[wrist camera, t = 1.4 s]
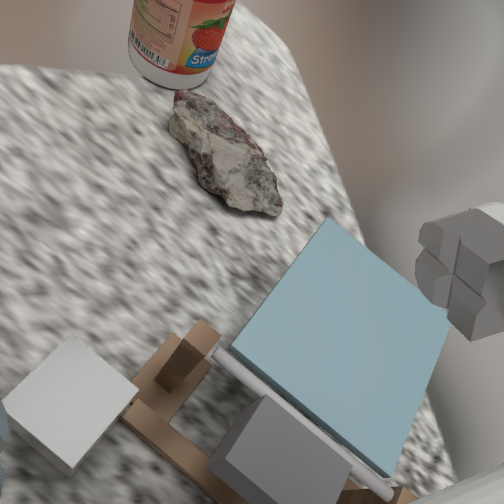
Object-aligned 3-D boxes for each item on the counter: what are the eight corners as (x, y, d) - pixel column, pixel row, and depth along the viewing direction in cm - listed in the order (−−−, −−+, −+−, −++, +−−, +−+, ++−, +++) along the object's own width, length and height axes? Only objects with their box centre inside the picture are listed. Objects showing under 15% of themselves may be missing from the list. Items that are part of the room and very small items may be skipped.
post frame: (107, 409, 33) (124, 372, 24) (171, 335, 38) (206, 280, 29) (314, 584, 33) (411, 612, 24) (356, 489, 37) (452, 483, 28)
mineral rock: (287, 215, 48) (305, 191, 44) (221, 236, 44) (235, 211, 40) (222, 107, 52) (234, 76, 48) (157, 117, 48) (165, 85, 45)
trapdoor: (156, 425, 26) (170, 412, 23) (309, 227, 37) (332, 202, 34) (338, 578, 25) (376, 585, 23) (438, 332, 37) (472, 315, 34)
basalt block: (11, 429, 31) (-3, 404, 24) (68, 371, 34) (71, 333, 26) (69, 478, 31) (72, 468, 23) (121, 416, 34) (139, 389, 26)
